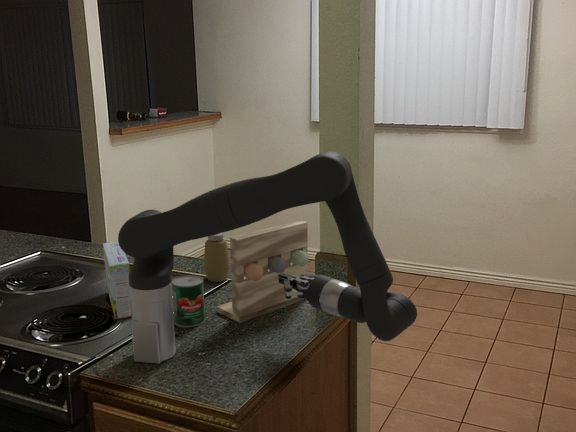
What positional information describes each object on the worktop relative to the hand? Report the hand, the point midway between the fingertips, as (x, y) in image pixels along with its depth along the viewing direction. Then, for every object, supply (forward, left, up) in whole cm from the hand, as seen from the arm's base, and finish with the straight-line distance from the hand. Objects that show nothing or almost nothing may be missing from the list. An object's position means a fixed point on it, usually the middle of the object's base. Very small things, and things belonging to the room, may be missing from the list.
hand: (280, 277), depth 152 cm
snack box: (+9, +48, -14) cm, 51 cm away
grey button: (+13, +4, -3) cm, 14 cm away
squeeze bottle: (+33, +28, -14) cm, 45 cm away
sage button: (+19, 0, -3) cm, 19 cm away
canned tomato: (+2, +25, -14) cm, 29 cm away
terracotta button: (+6, +9, -3) cm, 11 cm away
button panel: (+16, +9, -14) cm, 23 cm away
